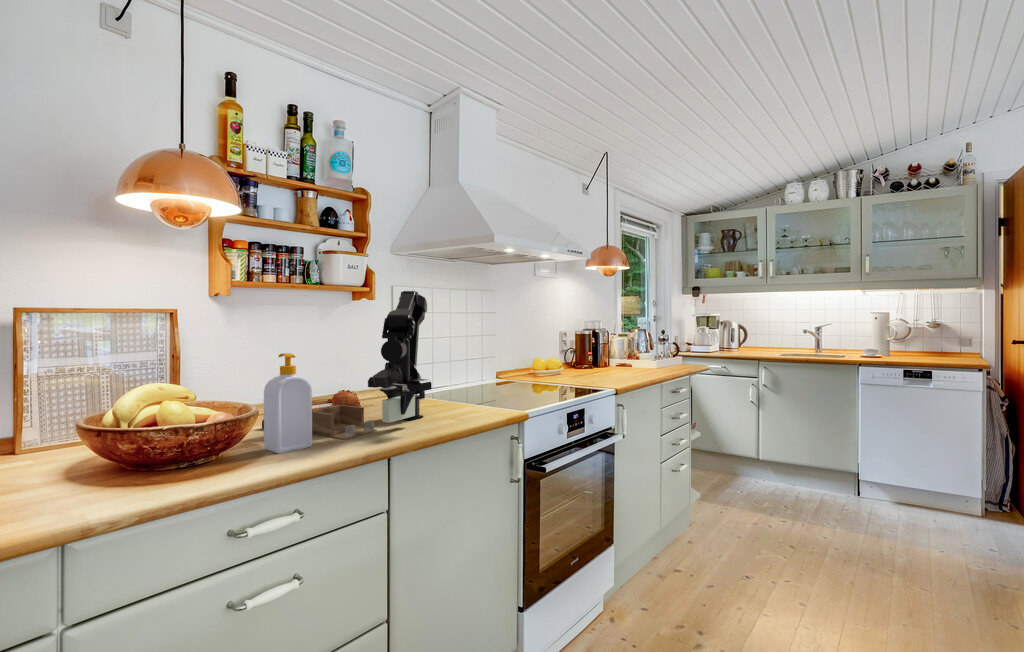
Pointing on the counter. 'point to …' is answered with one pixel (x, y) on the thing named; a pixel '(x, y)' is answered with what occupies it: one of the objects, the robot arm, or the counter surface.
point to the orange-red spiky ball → (345, 399)
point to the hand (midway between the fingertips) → (399, 414)
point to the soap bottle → (287, 410)
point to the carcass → (340, 422)
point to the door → (396, 409)
